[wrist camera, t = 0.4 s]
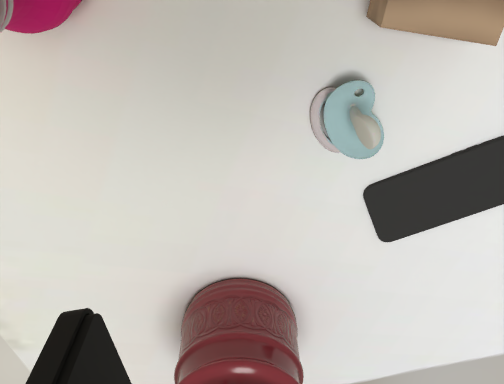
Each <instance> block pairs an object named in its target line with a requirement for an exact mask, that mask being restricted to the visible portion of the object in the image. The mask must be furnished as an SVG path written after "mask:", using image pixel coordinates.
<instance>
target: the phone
mask: <svg viewBox="0 0 504 384" xmlns="http://www.w3.org/2000/svg"><path fill="white" fill-rule="evenodd" d="M363 196H364V200H365V203H366V205H367V208H368V211H369V214H370V216H371V219H372V222H373V225H374V227H375V230H376V233H377V235H378V237H379V239H380V240H381V241H383V242H392V241H395V240H398V239H401V238H404V237H407V236H410V235H413V234H416V233H419V232H422V231H425V230H428V229H431V228H434V227H437V226H440V225H443V224H446V223H449V222H452V221H455V220H458V219H461V218H464V217H467V216H470V215H473V214H476V213H479V212H482V211H485V210H488V209H490V208H493V207H496V206H499V205H502V204H504V136H501V137H498V138H495V139H492V140H490V141H487V142H484V143H481V144H479V145H475V146H472V147H470V148H467V149H465V150H461V151H459V152H456V153H453V154H451V155H449V156H446V157H443V158H441V159H438V160H435V161H433V162H430V163H427V164H424V165H422V166H419V167H416V168H414V169H411V170H408V171H405V172H403V173H400V174H397V175H395V176H392V177H389V178H386V179H384V180H381V181H378V182H376V183H373V184H371V185H369V186H368V187H367V188H366V189H365V190H364V194H363Z"/></svg>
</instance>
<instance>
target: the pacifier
mask: <svg viewBox="0 0 504 384" xmlns="http://www.w3.org/2000/svg"><path fill="white" fill-rule="evenodd" d="M357 89H363V90H364V92H363V94H362V95H360V96H356V95H355V94H354V93H355V91H356V90H357ZM325 101H326V103H325V106H324V123H325V128H326V131H327V133H328V136H329V138H330V139H329V138H328V137H327V136H326V135H325V133H324V132H323V130H322V128H321V124H320V111H321V107H322V105H323V103H324V102H325ZM374 101H375V92H374V89H373V87H372V86H371V85H370V84H369V83H368V82H366V81H363V80H354V81H349V82H347V83H344V84H342V85H341V86H339V87H338V88H333V87H332V88H325V89H324V90H322V91H320V92H319V93H318V94H317V95H316V97H315V98H314V101H313V103H312V106H311V111H310V121H311V126H312V130H313V132H314V134H315V137H316V138H317V140H318V141H319V142H320V144H321V145H322V146H324V147H325V148H326V149H328V150H330V151H332V152H337V153H339V152H341V153H343V154H344V155H346V156H348V157H351V158H355V159H366V158H370V157H372V156H374V155H375V154H376V153H377V152H378V151H379V150H380V148H381V146H382V144H383V140H384V132H383V128H382V125H381V123H380V121H379V120H378V119H377V118H376V117H375V116H374V115H373V114H372V112H371V109H372V107H373V104H374Z"/></svg>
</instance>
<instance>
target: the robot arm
mask: <svg viewBox="0 0 504 384" xmlns="http://www.w3.org/2000/svg"><path fill="white" fill-rule="evenodd" d="M26 384H131V382H130V379H129V377H128V375H127V373H126V370H125V368H124V366H123V364H122V361H121V359H120V357H119V355H118V352H117V350H116V348H115V346H114V343H113V341H112V339H111V336H110V334H109V332H108V330H107V327H106V325H105V323H104V321H103V318H102V317H101V315H100V314H98V313H96V314H94V313H93V311H92V310H91V309H89V308H85V309H79V310H73V311H67V312H63V313H61V314H60V316H59V317H58V319H57V321H56V323H55V325H54V327H53V329H52V331H51V333H50V335H49V337H48V339H47V341H46V343H45V345H44V347H43V349H42V351H41V353H40V355H39V358H38V360H37V362H36V364H35V366H34V368H33V370H32V372H31V374H30V376H29V378H28V380H27V382H26Z"/></svg>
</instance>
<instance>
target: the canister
mask: <svg viewBox="0 0 504 384" xmlns="http://www.w3.org/2000/svg"><path fill="white" fill-rule="evenodd" d="M181 336H182V340H181V346H180V353H179V360H178V362H177V365H176V368H175V373H174V380H175V384H303V368H302V365H301V362H300V359H299V352H298V344H297V324H296V318H295V315H294V313H293V311H292V309H291V306H290V304H289V302H288V301H287V299H286V298H285V297H284V296H283V295H282V294H281V293H280V292H279V291H278V290H276V289H275V288H273V287H271V286H270V285H267V284H265V283H262V282H259V281H255V280H250V279H229V280H224V281H220V282H217V283H214V284H212V285H210V286H208V287H206V288H204V289H203V290H201V291H200V292H199V293H198V294H197V295H196V296H195V297H194V298H193V299H192V301H191V302H190V304H189V306H188V309H187V310H186V313H185V315H184V318H183V322H182V328H181Z"/></svg>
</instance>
